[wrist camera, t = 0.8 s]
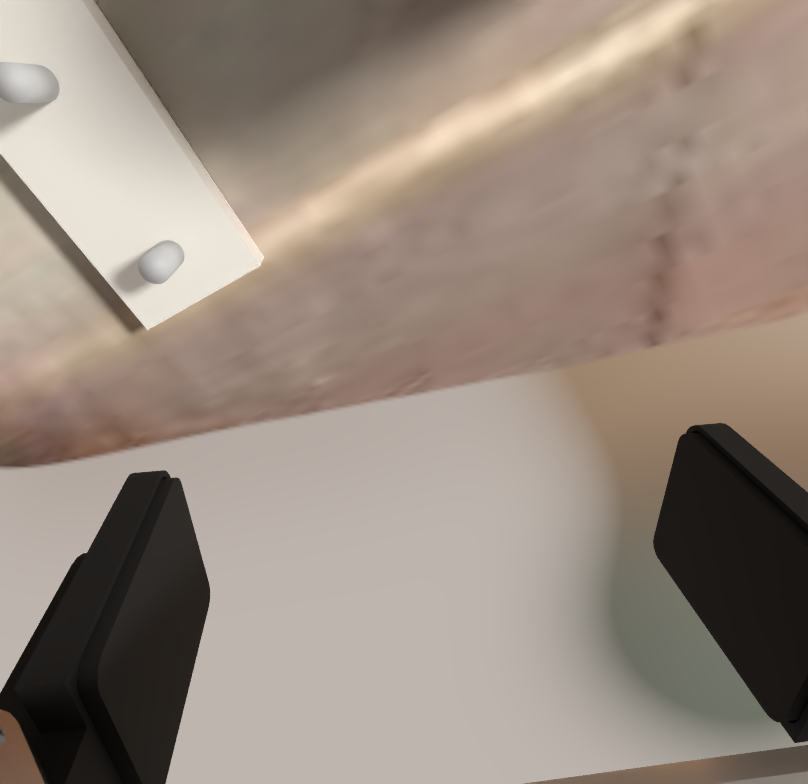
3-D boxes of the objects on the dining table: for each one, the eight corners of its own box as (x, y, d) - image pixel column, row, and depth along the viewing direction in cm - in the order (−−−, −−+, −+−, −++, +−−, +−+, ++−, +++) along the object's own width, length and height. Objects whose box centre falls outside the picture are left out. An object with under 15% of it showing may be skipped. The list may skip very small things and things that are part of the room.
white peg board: (-239, -168, 23) (-371, -228, 19) (-94, -284, 22) (-199, -376, 18) (156, 318, 35) (131, 350, 31) (263, 257, 34) (253, 281, 30)
